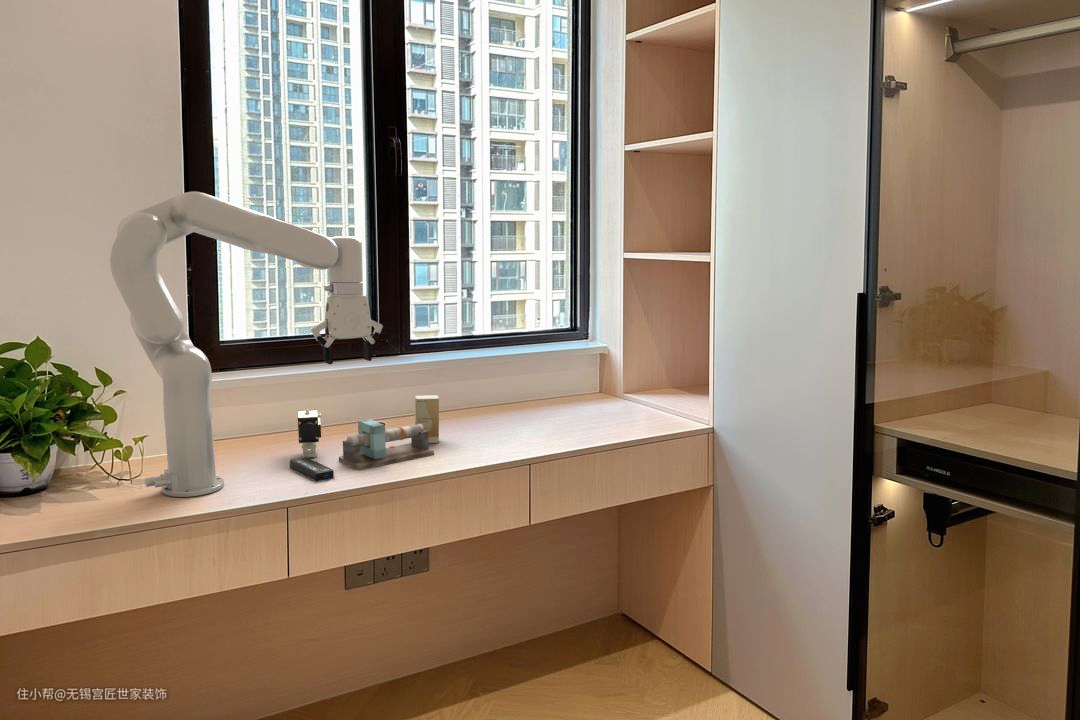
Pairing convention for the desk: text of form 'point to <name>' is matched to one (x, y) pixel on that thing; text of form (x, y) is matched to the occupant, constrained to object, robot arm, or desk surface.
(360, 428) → the collar
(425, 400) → the skincare box
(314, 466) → the multiport hub
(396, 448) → the pipe stand
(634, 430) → the desk surface
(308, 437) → the pneumatic valve
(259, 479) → the desk surface
